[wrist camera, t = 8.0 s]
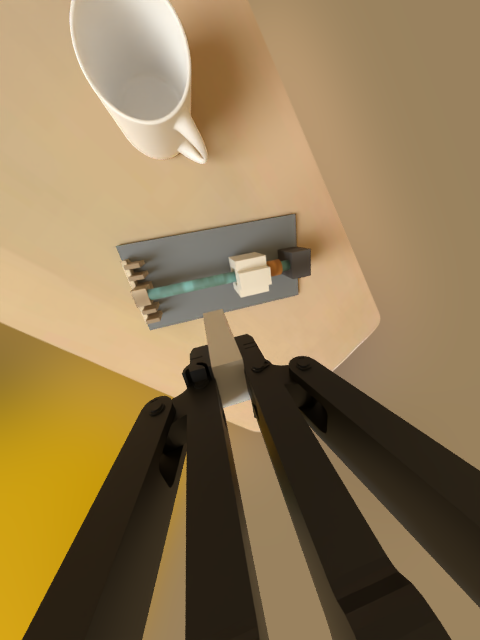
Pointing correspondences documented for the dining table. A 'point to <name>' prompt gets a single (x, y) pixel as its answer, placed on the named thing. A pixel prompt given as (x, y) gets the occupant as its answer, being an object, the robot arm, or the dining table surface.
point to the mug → (140, 72)
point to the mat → (211, 266)
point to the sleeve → (250, 273)
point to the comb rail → (141, 289)
